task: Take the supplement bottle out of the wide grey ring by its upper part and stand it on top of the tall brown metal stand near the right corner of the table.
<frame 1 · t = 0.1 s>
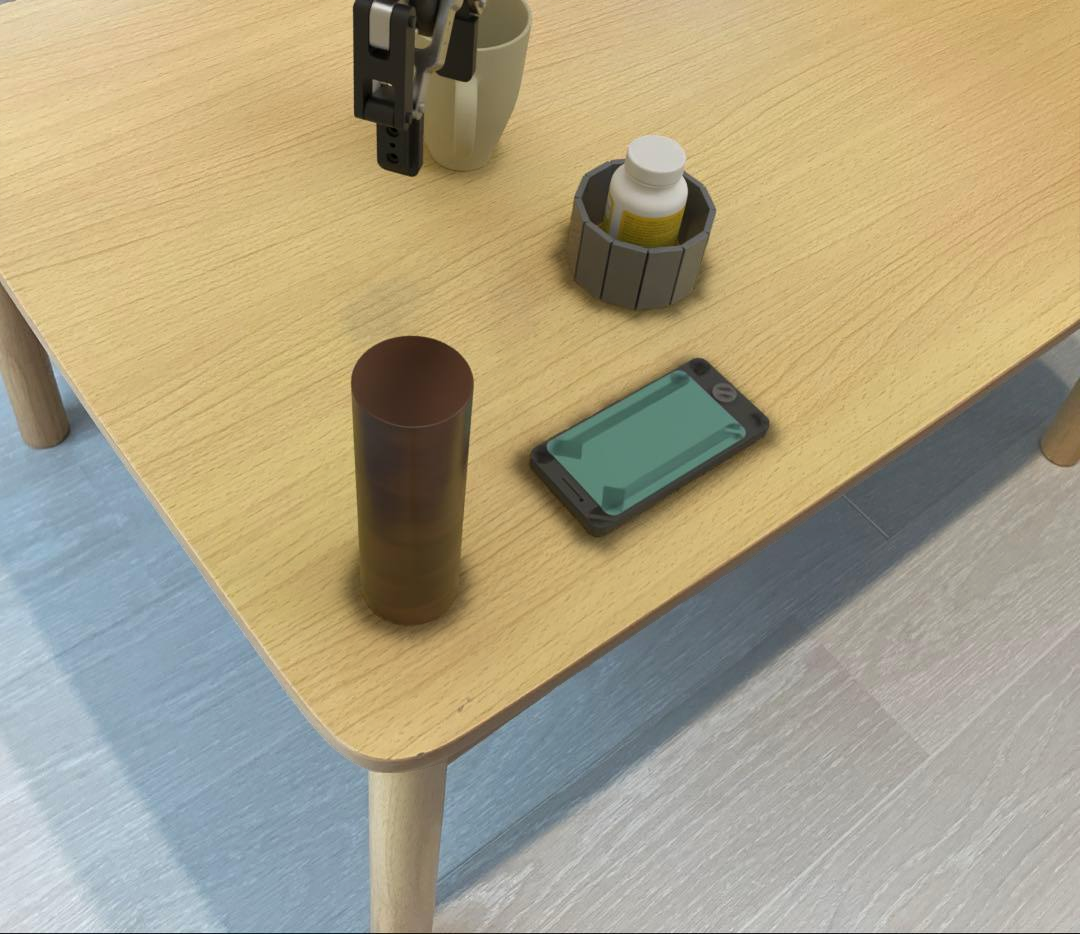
hand: (428, 120, 62), 20 cm above the table, tool pointing down, fingers open, 8 cm apart
grey ring: (633, 261, 86), on the table
mug: (463, 161, 91), on the table
supplement bottle: (632, 263, 86), resting in grey ring
brown metal stand: (409, 582, 68), on the table
smartphone: (648, 448, 76), on the table
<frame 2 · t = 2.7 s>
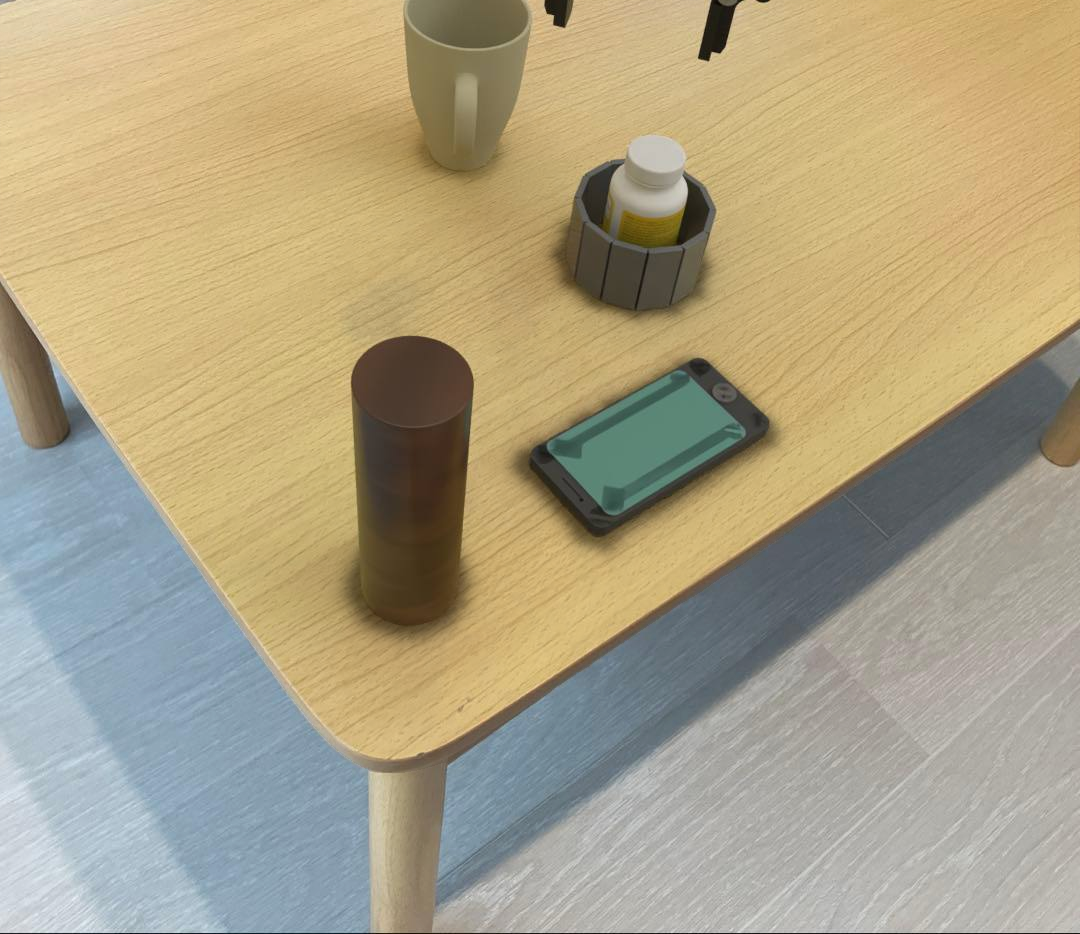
hand: (634, 36, 68), 20 cm above the table, tool pointing down, fingers open, 8 cm apart
nothing on the table moved.
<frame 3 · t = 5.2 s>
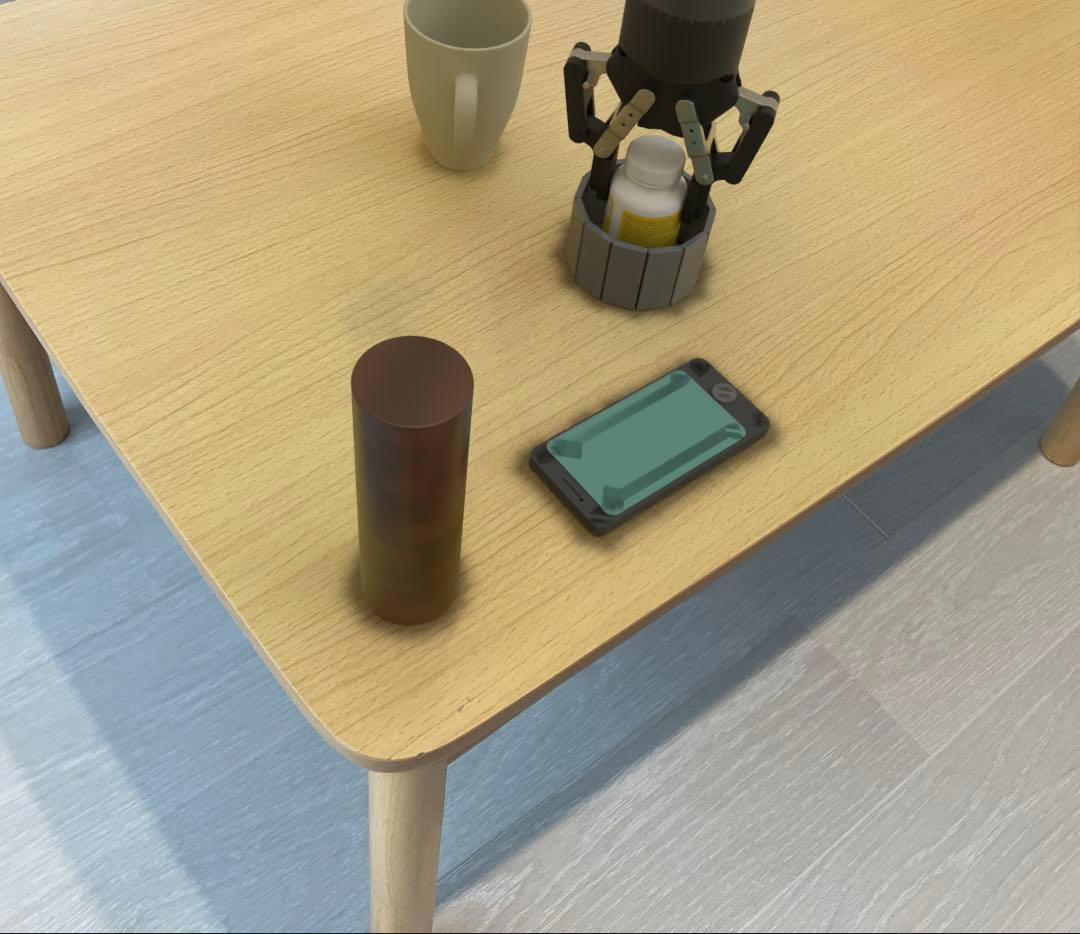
hand: (646, 203, 82), 5 cm above the table, tool pointing down, fingers closed on supplement bottle, 5 cm apart
supplement bottle: (632, 263, 86), resting in grey ring, touching gripper
everything else where it was.
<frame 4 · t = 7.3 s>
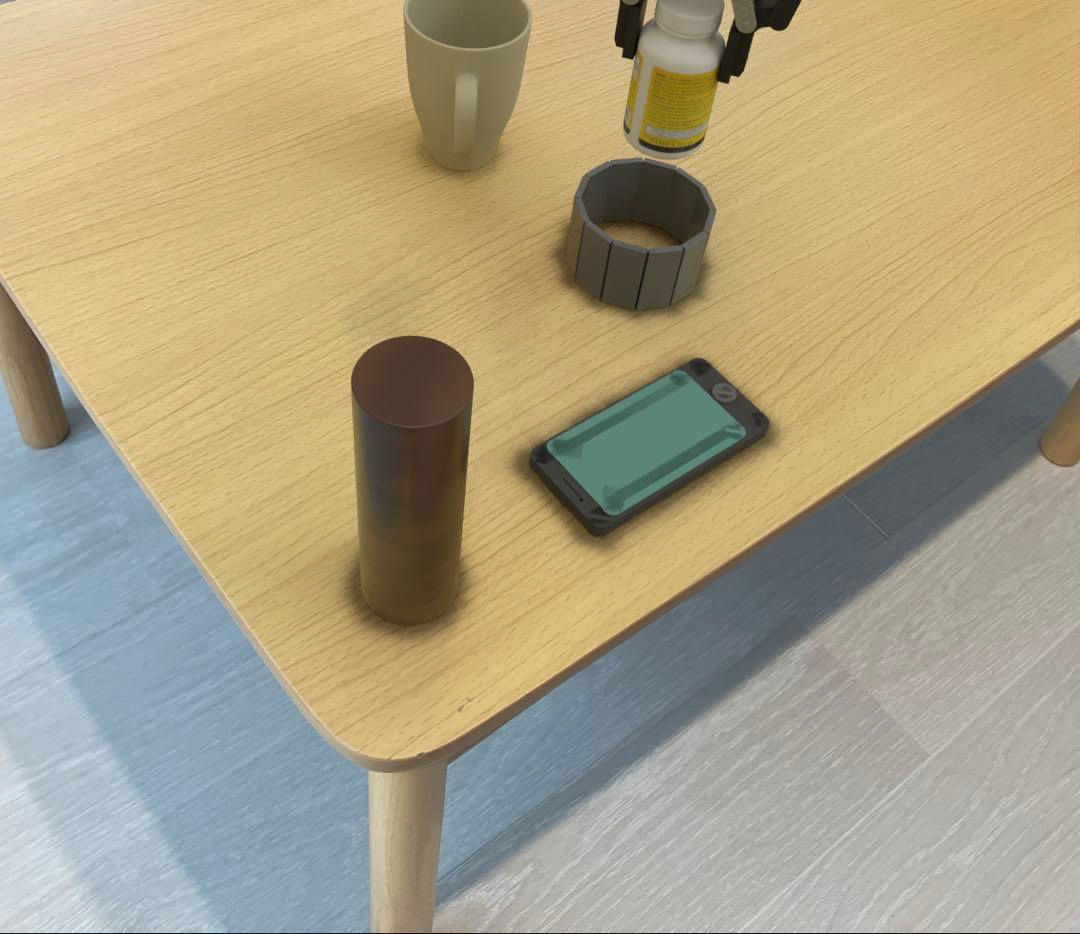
hand: (678, 63, 73), 17 cm above the table, tool pointing down, fingers closed on supplement bottle, 5 cm apart
supplement bottle: (662, 138, 77), point 11 cm above the table, touching gripper
everything else where it was.
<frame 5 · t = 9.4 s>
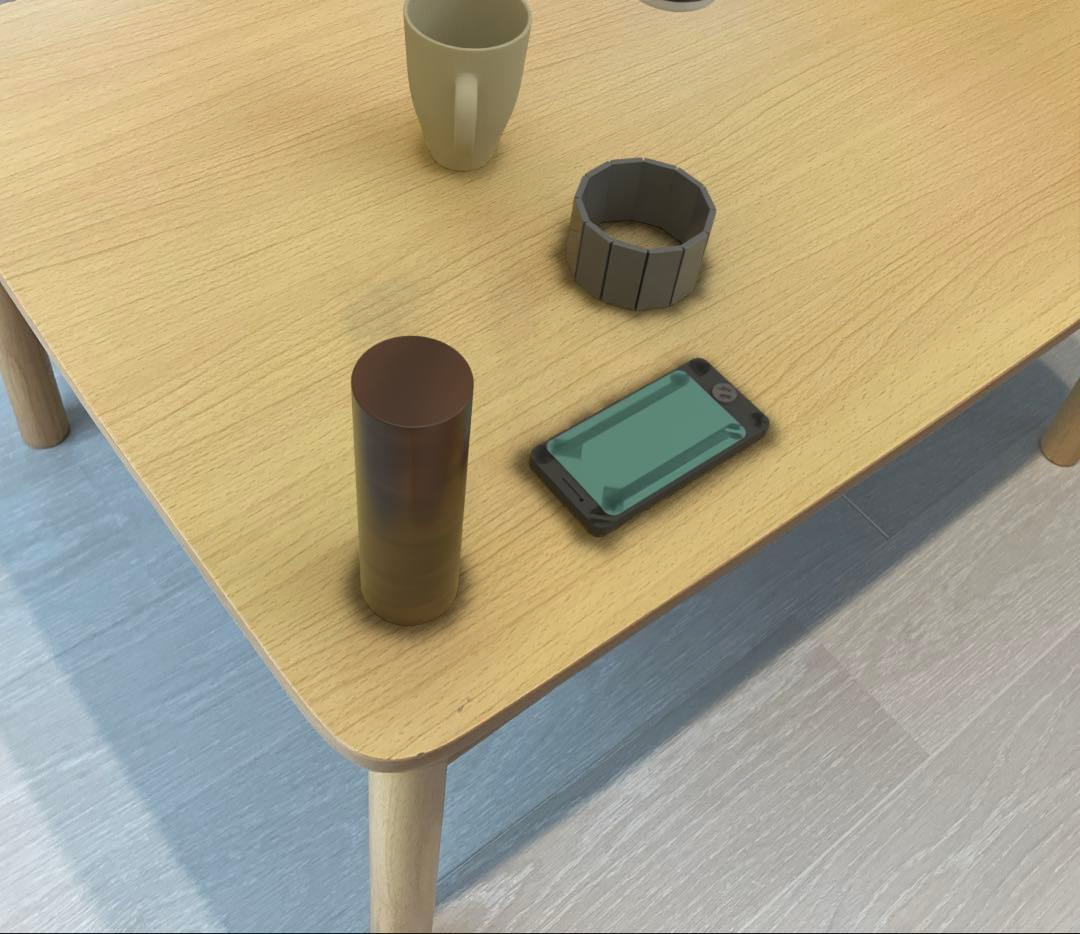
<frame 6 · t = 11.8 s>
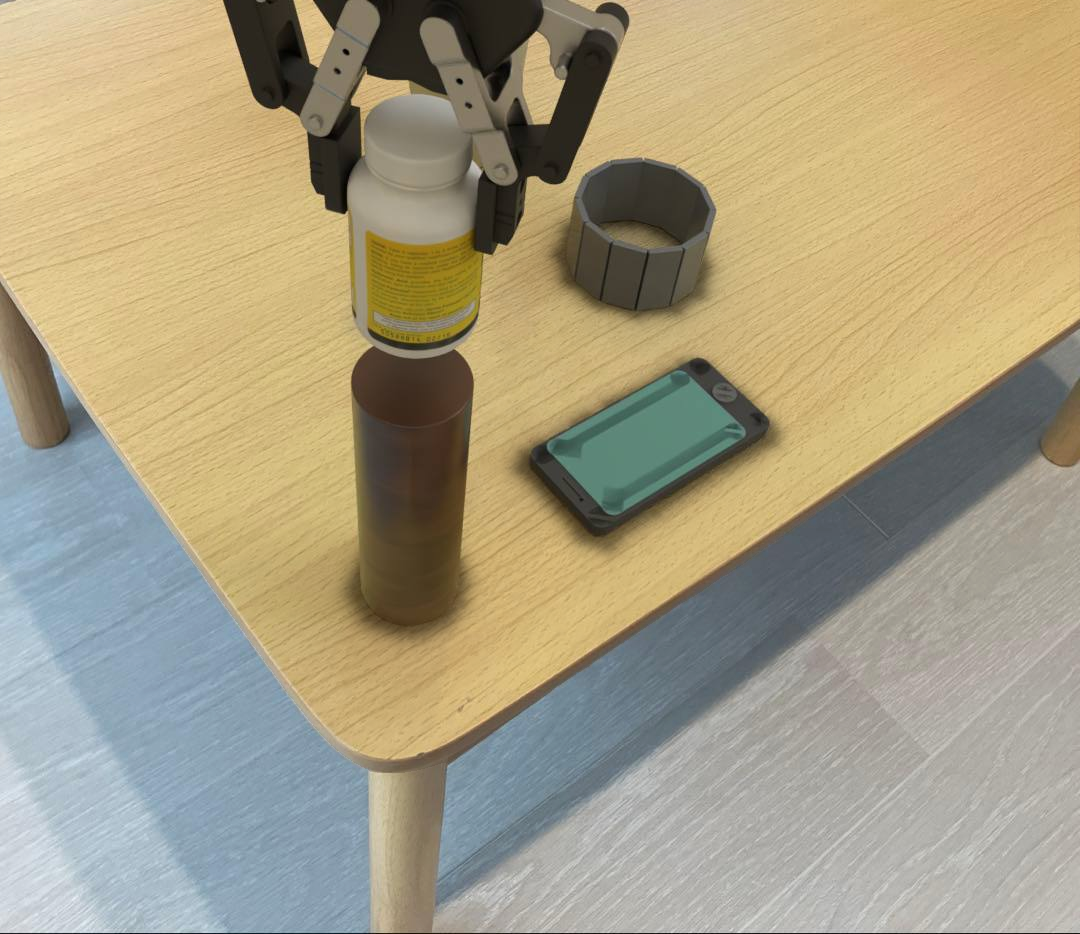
hand: (417, 218, 46), 28 cm above the table, tool pointing down, fingers closed on supplement bottle, 5 cm apart
supplement bottle: (416, 319, 51), point 22 cm above the table, touching gripper
everything else where it was.
when the fingers open (23 cm above the table, at t = 13.4 s): supplement bottle stays where it is, resting on brown metal stand.
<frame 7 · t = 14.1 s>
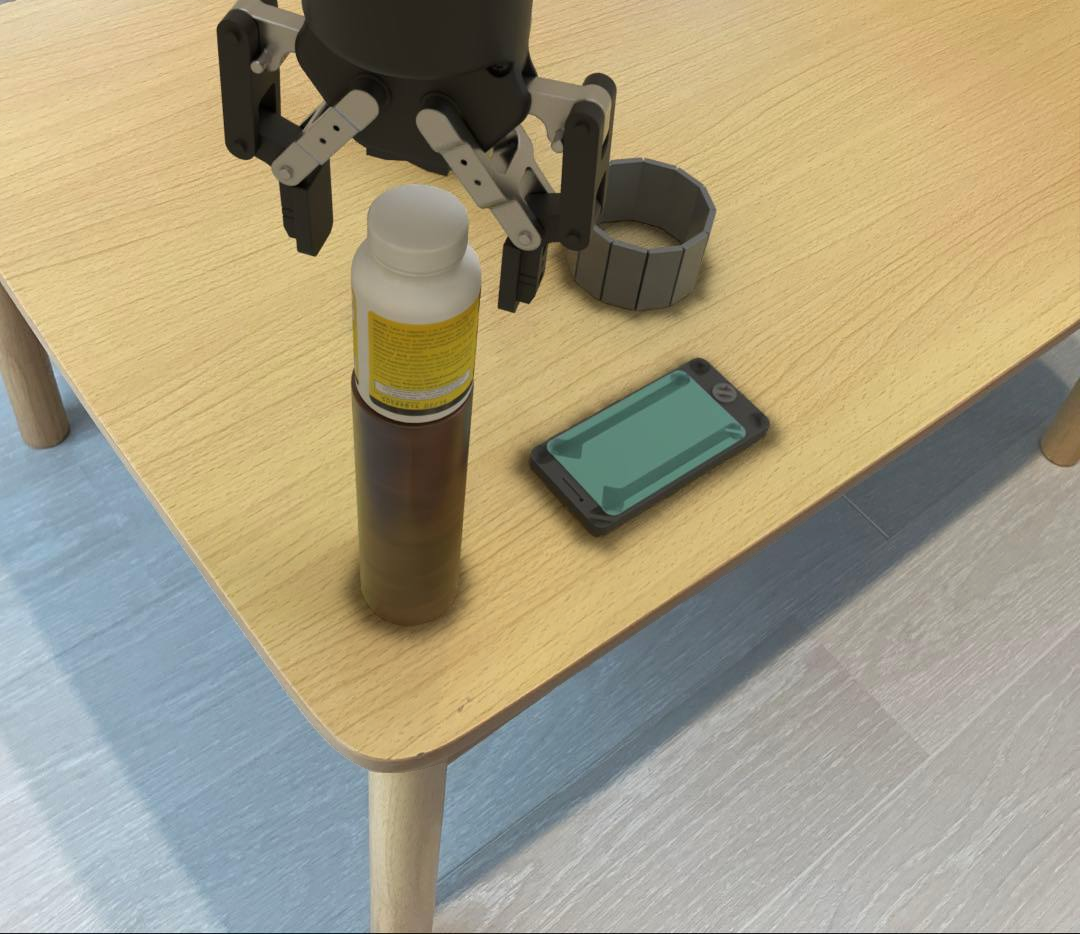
hand: (414, 269, 48), 25 cm above the table, tool pointing down, fingers open, 8 cm apart
supplement bottle: (414, 383, 54), point 18 cm above the table, touching brown metal stand
everything else where it was.
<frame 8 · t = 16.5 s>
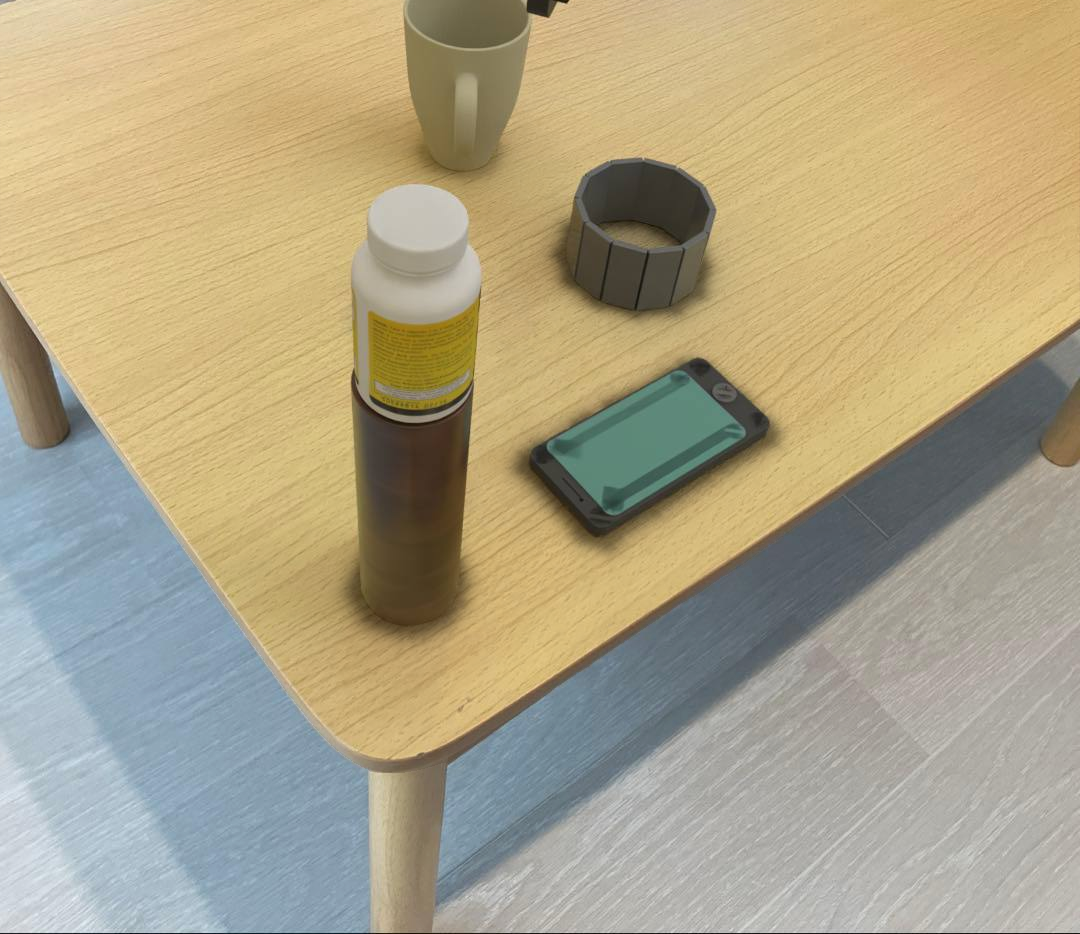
nothing on the table moved.
at the end: supplement bottle 0.1 cm off-centre on the brown metal stand, point 17.8 cm above the brown metal stand's base; supplement bottle tilted 0° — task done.
